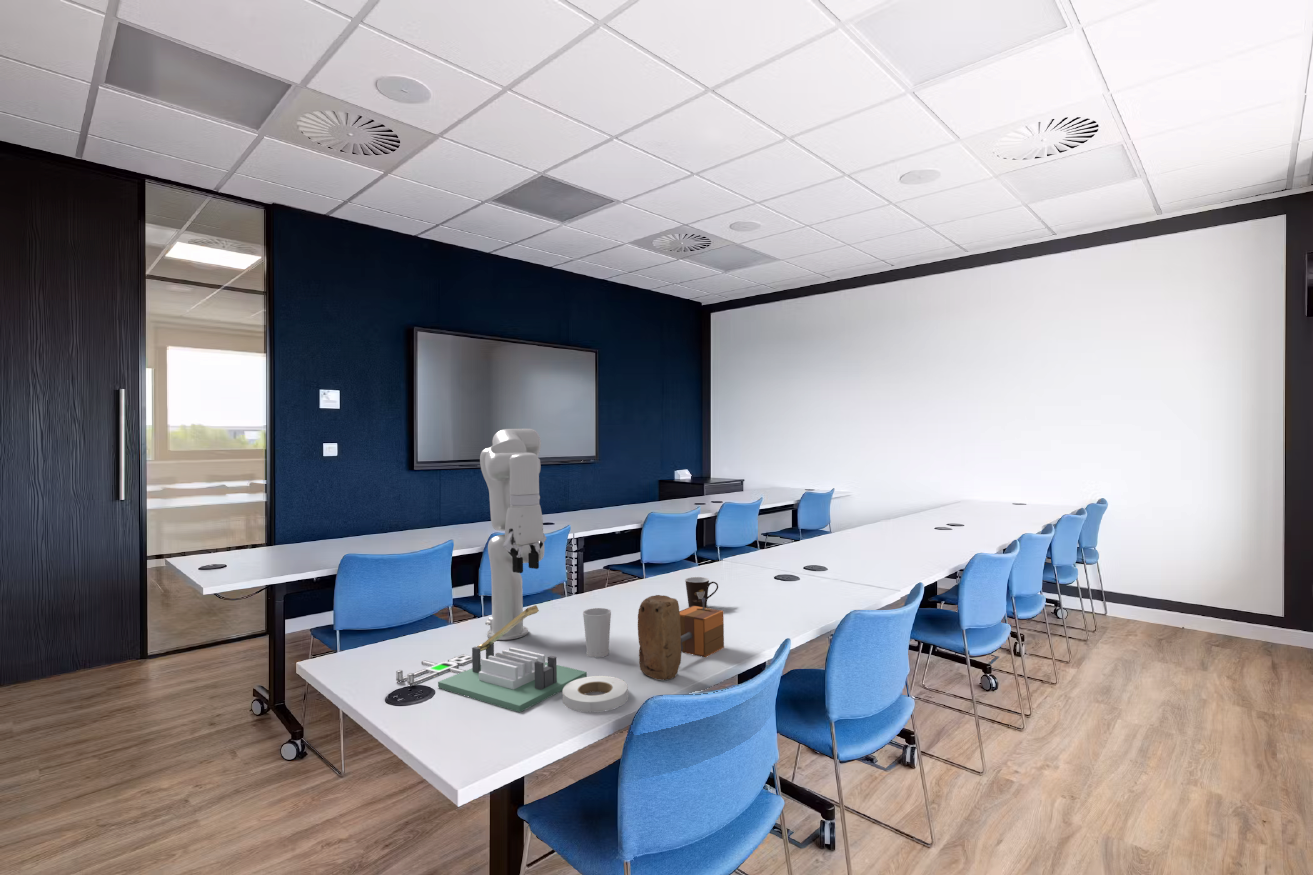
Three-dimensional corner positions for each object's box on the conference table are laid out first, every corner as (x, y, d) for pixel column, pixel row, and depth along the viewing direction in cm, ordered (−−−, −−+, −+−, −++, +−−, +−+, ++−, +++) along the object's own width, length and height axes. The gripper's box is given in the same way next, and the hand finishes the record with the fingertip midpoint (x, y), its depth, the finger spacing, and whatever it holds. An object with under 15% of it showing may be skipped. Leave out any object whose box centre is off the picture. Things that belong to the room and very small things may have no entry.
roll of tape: (594, 719, 140) (594, 706, 140) (549, 701, 150) (549, 689, 150) (641, 697, 152) (641, 685, 152) (596, 682, 162) (596, 670, 162)
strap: (478, 654, 166) (475, 647, 167) (487, 650, 169) (484, 644, 169) (530, 613, 156) (527, 606, 157) (539, 610, 158) (535, 603, 159)
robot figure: (424, 692, 157) (491, 664, 176) (424, 678, 157) (490, 652, 176) (382, 680, 166) (450, 654, 185) (382, 667, 166) (449, 643, 185)
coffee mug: (684, 610, 227) (683, 582, 227) (687, 603, 235) (686, 576, 235) (717, 611, 225) (716, 582, 225) (718, 604, 233) (718, 577, 233)
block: (684, 675, 164) (683, 598, 164) (664, 684, 158) (662, 604, 159) (654, 666, 171) (652, 591, 171) (634, 673, 166) (632, 597, 166)
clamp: (654, 660, 176) (653, 609, 176) (693, 641, 192) (693, 594, 192) (686, 668, 169) (685, 614, 169) (724, 648, 185) (723, 598, 185)
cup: (607, 659, 177) (606, 616, 177) (580, 657, 179) (579, 614, 179) (614, 649, 185) (614, 608, 185) (588, 648, 187) (587, 607, 187)
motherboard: (438, 687, 159) (437, 656, 159) (509, 658, 179) (508, 631, 179) (519, 712, 144) (518, 678, 144) (586, 677, 164) (586, 647, 164)
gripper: (536, 497, 176) (538, 563, 176) (489, 503, 162) (491, 575, 162) (557, 498, 172) (558, 565, 172) (511, 504, 158) (512, 578, 158)
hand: (525, 569), depth 167 cm, fingers open, 5 cm apart
